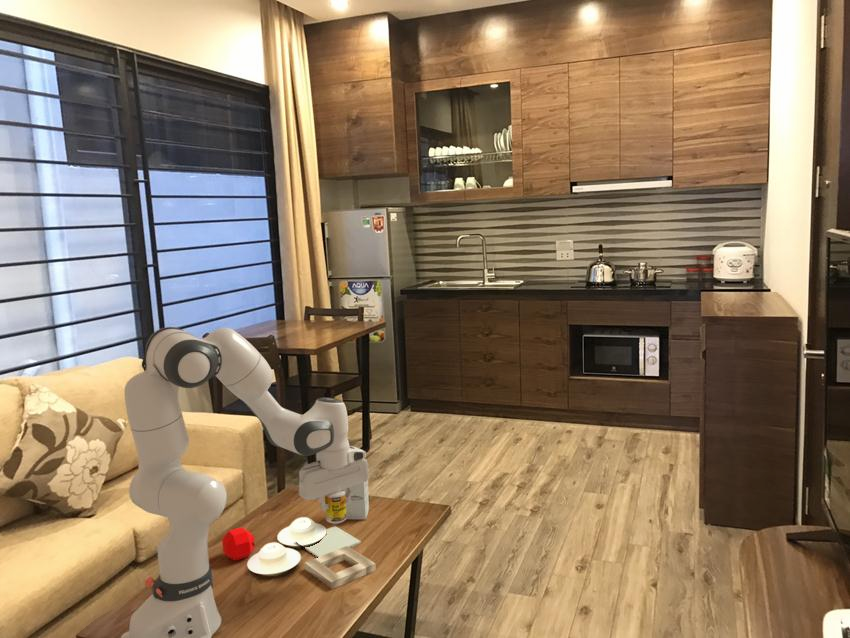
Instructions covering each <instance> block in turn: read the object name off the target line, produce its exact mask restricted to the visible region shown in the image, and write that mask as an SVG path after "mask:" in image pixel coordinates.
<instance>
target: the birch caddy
mask: <svg viewBox="0 0 850 638" xmlns="http://www.w3.org/2000/svg"><path fill="white" fill-rule="evenodd" d="M344 561H345V562H346V563H348V564H350V565H351V566H349V567H347V568H345V569H341V570H340V571H337V572H334V570H332V569H330V568H329V567H331V566H333V565H336V564H338V563H341V562H344ZM304 570H305V571H306V572H308V573H309V574H310V573H311V574H310V575H312V576H313V577H315V578H316V577H317V578H318V579H317V578H316V579H317V580H319V581H320V580H321V581H322V582H321V581H320V582H321V583H323V584H324V583H325V584H326V585H325V584H324V585H325V586H327V587H328V588H329V589H331V590H334V589H336V588H339V587H341V586H343V585H346V584H348V583H350V582H352V581H356V580H357V579H360V578H362V577H363V576H366V575H368V574H371V573H373V572H375V571H377V566H376V563H375V562H374V561H372V560H371V559H369V558H368V557H366V556H364V555H363V554H361V553H360V552H358V551H356V550H355V549H353V548H352V547H348V546H346V547H343V548H341V549H338V550H335V551H333V552H330V553H328V554H325V555H323V556H320V557H318V558H317V557H315V558H313V559H310V560H308V561H305V562H304Z"/></svg>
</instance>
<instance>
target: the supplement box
mask: <svg viewBox="0 0 850 638" xmlns="http://www.w3.org/2000/svg"><path fill="white" fill-rule="evenodd" d="M344 490H345V493H346V490H347V489H344ZM350 497H351V502H349V503H346V515H347V517H346V520H363V521H364V520H367V516H368V513H369V511H370V503H369V502H370V501H369V479H368V480H367V482H365V483H362V484H359V485H356V486H354V490H353V493H352V495H351V496H350Z"/></svg>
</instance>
